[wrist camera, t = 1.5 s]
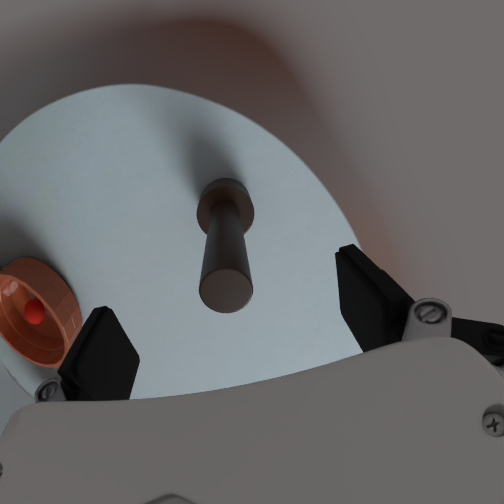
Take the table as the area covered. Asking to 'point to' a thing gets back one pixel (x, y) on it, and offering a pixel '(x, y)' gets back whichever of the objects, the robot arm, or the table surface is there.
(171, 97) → the table surface
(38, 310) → the berry
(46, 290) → the bowl
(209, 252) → the brown wooden peg
